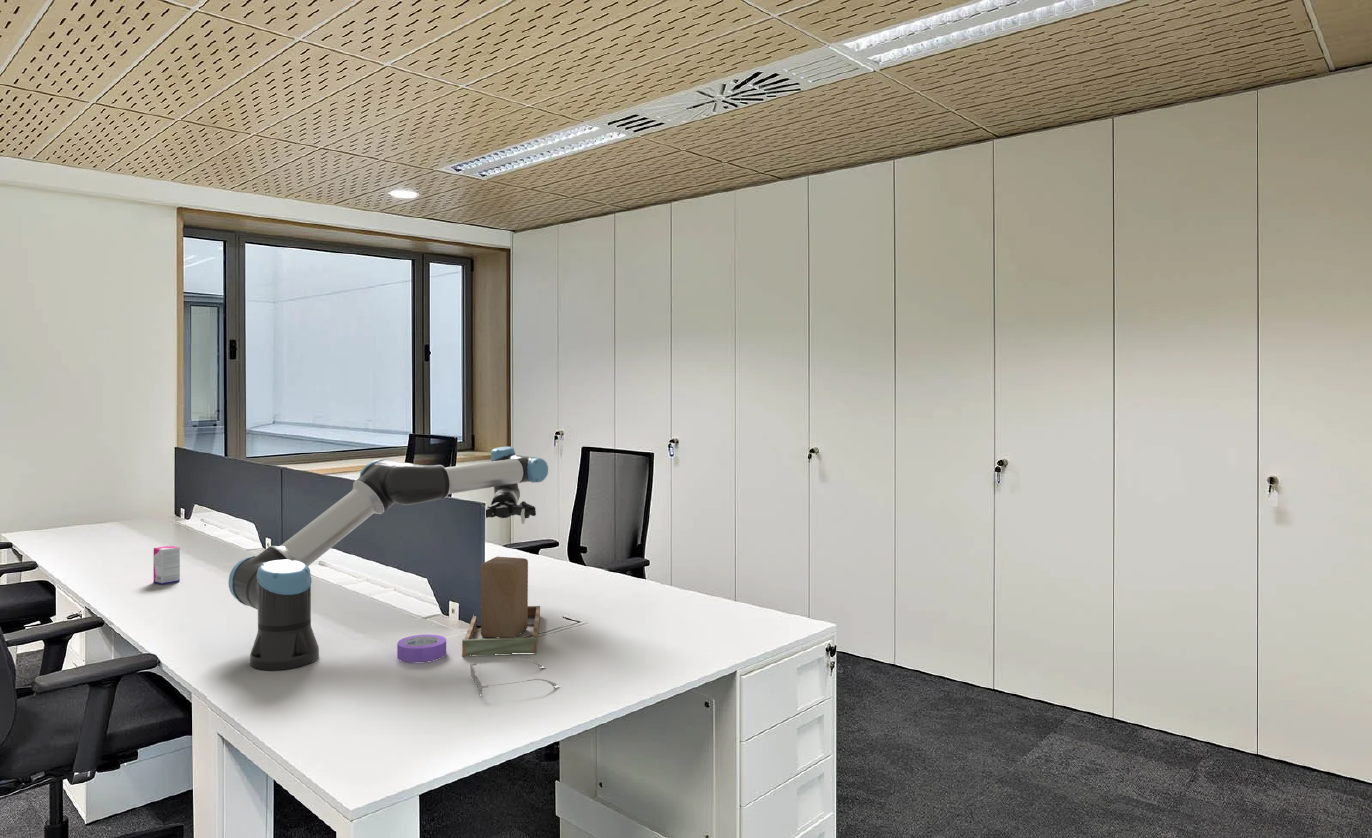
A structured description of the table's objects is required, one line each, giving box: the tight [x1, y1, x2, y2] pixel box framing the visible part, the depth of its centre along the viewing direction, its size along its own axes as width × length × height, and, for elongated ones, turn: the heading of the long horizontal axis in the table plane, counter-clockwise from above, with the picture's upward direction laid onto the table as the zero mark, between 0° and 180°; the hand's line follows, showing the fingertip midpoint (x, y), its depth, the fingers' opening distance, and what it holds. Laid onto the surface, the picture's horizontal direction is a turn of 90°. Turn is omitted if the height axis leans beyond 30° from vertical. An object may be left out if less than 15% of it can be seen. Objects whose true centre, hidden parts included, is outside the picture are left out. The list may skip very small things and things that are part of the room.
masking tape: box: [396, 634, 447, 663], centre depth 213 cm, size 12×12×4 cm
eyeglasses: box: [469, 657, 558, 696], centre depth 195 cm, size 15×18×4 cm
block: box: [480, 556, 529, 638], centre depth 231 cm, size 10×10×20 cm
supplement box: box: [153, 545, 181, 586], centre depth 280 cm, size 6×6×12 cm
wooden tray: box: [461, 605, 541, 657], centre depth 230 cm, size 34×18×4 cm, turn 8°
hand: (498, 521), depth 242 cm, fingers open, 13 cm apart
